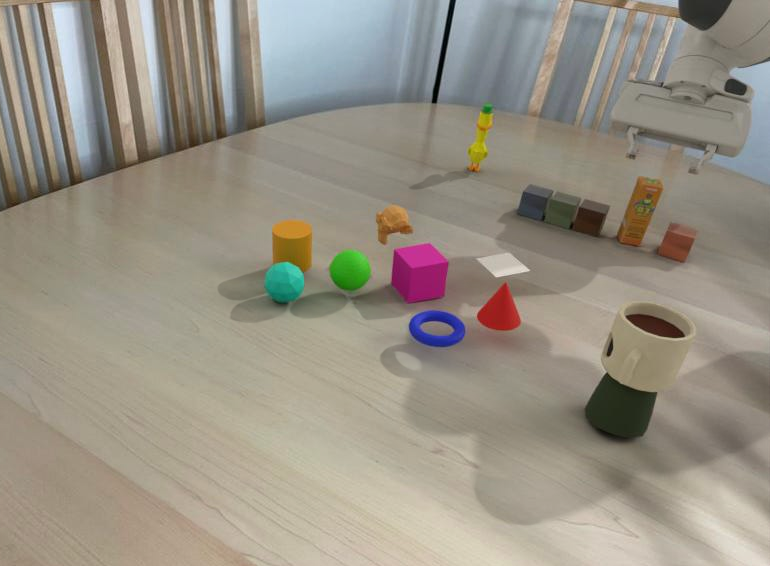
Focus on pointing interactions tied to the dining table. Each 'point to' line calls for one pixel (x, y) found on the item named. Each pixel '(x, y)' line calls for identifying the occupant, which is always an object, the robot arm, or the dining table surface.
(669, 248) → the block row
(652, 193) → the supplement box
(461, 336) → the shape set
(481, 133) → the toy figure
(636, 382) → the character mug
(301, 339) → the dining table surface
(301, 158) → the dining table surface
